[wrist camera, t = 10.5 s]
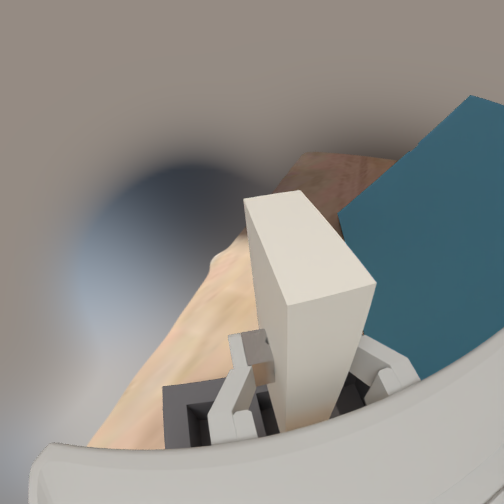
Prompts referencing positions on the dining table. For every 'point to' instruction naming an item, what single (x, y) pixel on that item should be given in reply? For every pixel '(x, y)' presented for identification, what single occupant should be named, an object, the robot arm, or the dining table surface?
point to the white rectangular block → (305, 304)
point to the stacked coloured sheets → (436, 240)
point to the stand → (204, 394)
